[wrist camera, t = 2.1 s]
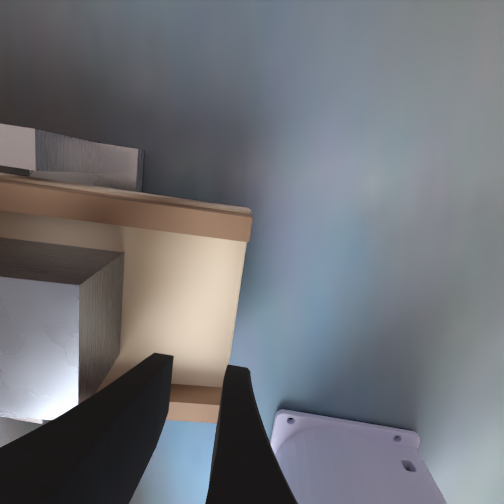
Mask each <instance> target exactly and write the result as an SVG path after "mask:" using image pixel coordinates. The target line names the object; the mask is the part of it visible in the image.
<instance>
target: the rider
mask: <svg viewBox="0 0 504 504" xmlns="http://www.w3.org/2000/svg"><path fill="white" fill-rule="evenodd" d="M124 255H125V252H117V251H109V250H101V249H93V248H84V247H76V246H68V245H59V244H51V243H43V242H35V241H26V240H18V239H10V238H2V237H0V417H14V418H30V419H46V420H53V419H55V418H57V417H58V416H60V415H62V414H64V413H65V412H67V411H68V410H70V409H72V408H73V407H75V406H76V405H78V404H80V403H81V402H83V401H84V400H86V399H88V398H89V397H91V396H92V395H94V394H95V393H96V392H97V390H98V388H99V387H100V385H101V384H102V382H103V380H104V379H105V377H106V376H107V374H108V372H109V371H110V369H111V368H112V366H113V364H114V363H115V361H116V359H117V358H118V356H119V355H120V340H121V319H122V298H123V276H124Z"/></svg>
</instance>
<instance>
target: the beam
mask: <svg viewBox="0 0 504 504" xmlns="http://www.w3.org/2000/svg"><path fill="white" fill-rule="evenodd" d="M252 221H253V217H252V215H251V210H250V209H249V208H246V207H239V206H232V205H225V204H218V203H211V202H204V201H197V200H189V199H182V198H175V197H168V196H161V195H154V194H147V193H140V192H133V191H126V190H119V189H112V188H105V187H98V186H91V185H84V184H77V183H69V182H62V181H55V180H48V179H41V178H34V177H27V176H20V175H13V174H6V173H0V237H2V238H10V239H18V240H26V241H35V242H43V243H51V244H59V245H68V246H76V247H84V248H93V249H101V250H109V251H117V252H125V255H124V276H123V298H122V319H121V340H120V355H119V356H118V358H117V359H116V361H115V363H114V364H113V366H112V368H111V369H110V371H109V372H108V374H107V376H106V377H105V379H104V380H103V382H102V384H101V385H100V387H99V388H98V390H97V392H98V391H100V390H101V389H103V388H104V387H106V386H107V385H109V384H110V383H112V382H113V381H115V380H116V379H117V378H119V377H120V376H122V375H123V374H125V373H126V372H127V371H129V370H130V369H132V368H133V367H134V366H136V365H137V364H139V363H140V362H141V361H143V360H144V359H146V358H147V357H149V356H150V355H151V354H153V353H160V354H166V355H172V356H174V360H173V370H172V381H171V391H170V401H169V412H168V415H167V418H166V420H176V421H191V422H206V423H217V420H218V413H219V406H220V399H221V392H222V385H223V379H224V375H225V371H226V368H227V365H229V360H230V353H231V346H232V340H233V333H234V326H235V319H236V312H237V305H238V299H239V292H240V285H241V278H242V271H243V264H244V258H245V251H246V244H247V242H249V241H250V234H251V227H252ZM97 392H96V393H97Z"/></svg>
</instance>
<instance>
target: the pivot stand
mask: <svg viewBox="0 0 504 504" xmlns="http://www.w3.org/2000/svg"><path fill="white" fill-rule="evenodd" d="M143 161H144V150H140V149H135V148H128V147H122V146H115V145H109V144H102V143H96V142H92V141H87V140H83V139H78V138H74V137H69V136H65V135H60V134H56V133H51V132H47V131H42V130H38V129H32V128H26V127H19V126H13V125H6V124H0V165H1V166H8V167H14V168H21V169H27V170H30V177H34V178H41V179H48V180H55V181H62V182H69V183H77V184H84V185H91V186H98V187H105V188H112V189H119V190H126V191H133V192H140V193H142V179H143ZM11 419H17V420H23V421H28V422H34V423H40V424H42V423H43V422H44V421H45V420H46V419H30V418H14V417H11Z"/></svg>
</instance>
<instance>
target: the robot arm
mask: <svg viewBox="0 0 504 504" xmlns="http://www.w3.org/2000/svg"><path fill="white" fill-rule="evenodd" d="M173 360H174V356H172V355H166V354H160V353H153V354H151V355H150V356H149V357H147V358H146V359H144V360H143V361H141V362H140V363H139V364H137V365H136V366H134V367H133V368H132V369H130V370H129V371H127V372H126V373H125V374H123V375H122V376H120V377H119V378H117V379H116V380H115V381H113V382H112V383H110V384H109V385H107V386H106V387H104V388H103V389H101V390H100V391H98V392H97V393H95V394H94V395H92V396H91V397H89V398H88V399H86V400H84V401H83V402H81V403H80V404H78V405H76V406H75V407H73V408H72V409H70V410H68V411H67V412H65V413H64V414H62V415H60V416H58V417H57V418H55V419H53V420H52V421H50V422H48V423H46V424H44V425H43V426H41V427H39V428H37V429H35V430H33V431H31V432H30V433H28V434H26V435H24V436H22V437H20V438H18V439H16V440H14V441H12V442H10V443H8V444H7V445H5V446H3V447H1V448H0V504H129V502H130V500H131V498H132V496H133V494H134V492H135V490H136V488H137V486H138V484H139V481H140V479H141V477H142V475H143V473H144V471H145V469H146V467H147V465H148V463H149V461H150V459H151V456H152V454H153V452H154V450H155V448H156V445H157V443H158V440H159V437H160V435H161V432H162V429H163V426H164V423H165V421H166V418H167V415H168V412H169V401H170V391H171V381H172V370H173ZM288 418H294V419H292V420H289V419H288ZM395 436H397V437H395ZM419 444H420V438H419V436H418V434H417V433H416V432H414V431H410V430H404V429H398V428H392V427H386V426H380V425H374V424H368V423H362V422H356V421H350V420H344V419H338V418H333V417H327V416H321V415H315V414H309V413H303V412H297V411H291V410H285V409H281V410H278V411H277V412H276V415H275V420H274V425H273V430H272V435H271V440H270V442H269V439H268V437H267V434H266V431H265V429H264V426H263V423H262V420H261V417H260V414H259V411H258V407H257V404H256V400H255V397H254V393H253V388H252V383H251V376H250V371H249V370H248V368H245V367H239V366H233V365H227V368H226V371H225V375H224V379H223V385H222V392H221V399H220V406H219V413H218V420H217V427H216V434H215V441H214V448H213V455H212V464H211V472H210V481H209V489H208V494H207V499H206V503H205V504H447V503H446V501H445V499H444V497H443V495H442V493H441V492H440V490H439V488H438V486H437V484H436V483H435V481H434V479H433V477H432V475H431V473H430V472H429V470H428V468H427V466H426V464H425V463H424V461H423V459H422V457H421V455H420V454H419V452H418V447H419Z"/></svg>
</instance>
